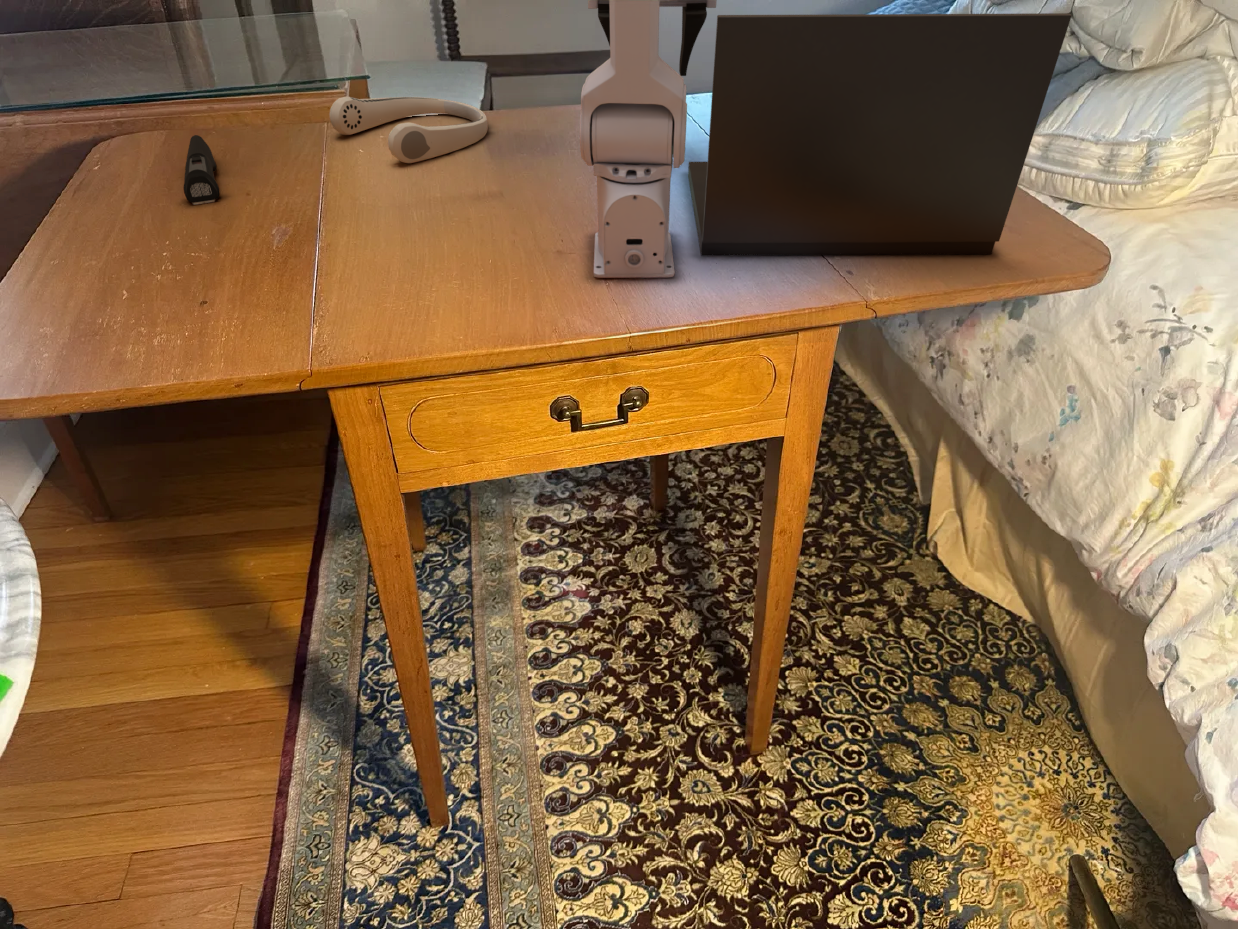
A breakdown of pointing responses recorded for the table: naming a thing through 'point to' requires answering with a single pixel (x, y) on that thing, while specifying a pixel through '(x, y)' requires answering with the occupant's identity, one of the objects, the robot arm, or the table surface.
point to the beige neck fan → (410, 124)
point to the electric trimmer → (200, 173)
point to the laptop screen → (873, 124)
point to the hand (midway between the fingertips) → (650, 73)
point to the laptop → (698, 189)
